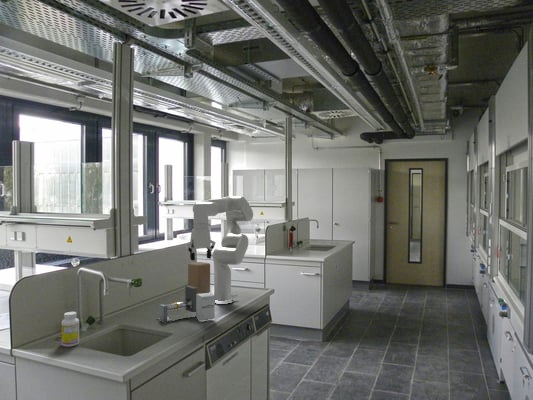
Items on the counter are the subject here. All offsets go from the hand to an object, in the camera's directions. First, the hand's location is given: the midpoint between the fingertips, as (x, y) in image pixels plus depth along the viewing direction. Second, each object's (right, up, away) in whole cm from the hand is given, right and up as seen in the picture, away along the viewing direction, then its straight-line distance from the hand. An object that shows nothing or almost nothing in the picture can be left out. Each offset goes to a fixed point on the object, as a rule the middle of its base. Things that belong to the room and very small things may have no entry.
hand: (200, 259), depth 228 cm
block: (-7, -28, +39) cm, 48 cm away
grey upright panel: (-4, -26, -4) cm, 26 cm away
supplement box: (+4, -29, -12) cm, 31 cm away
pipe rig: (-9, -28, -8) cm, 31 cm away
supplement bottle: (-46, -29, -49) cm, 73 cm away
